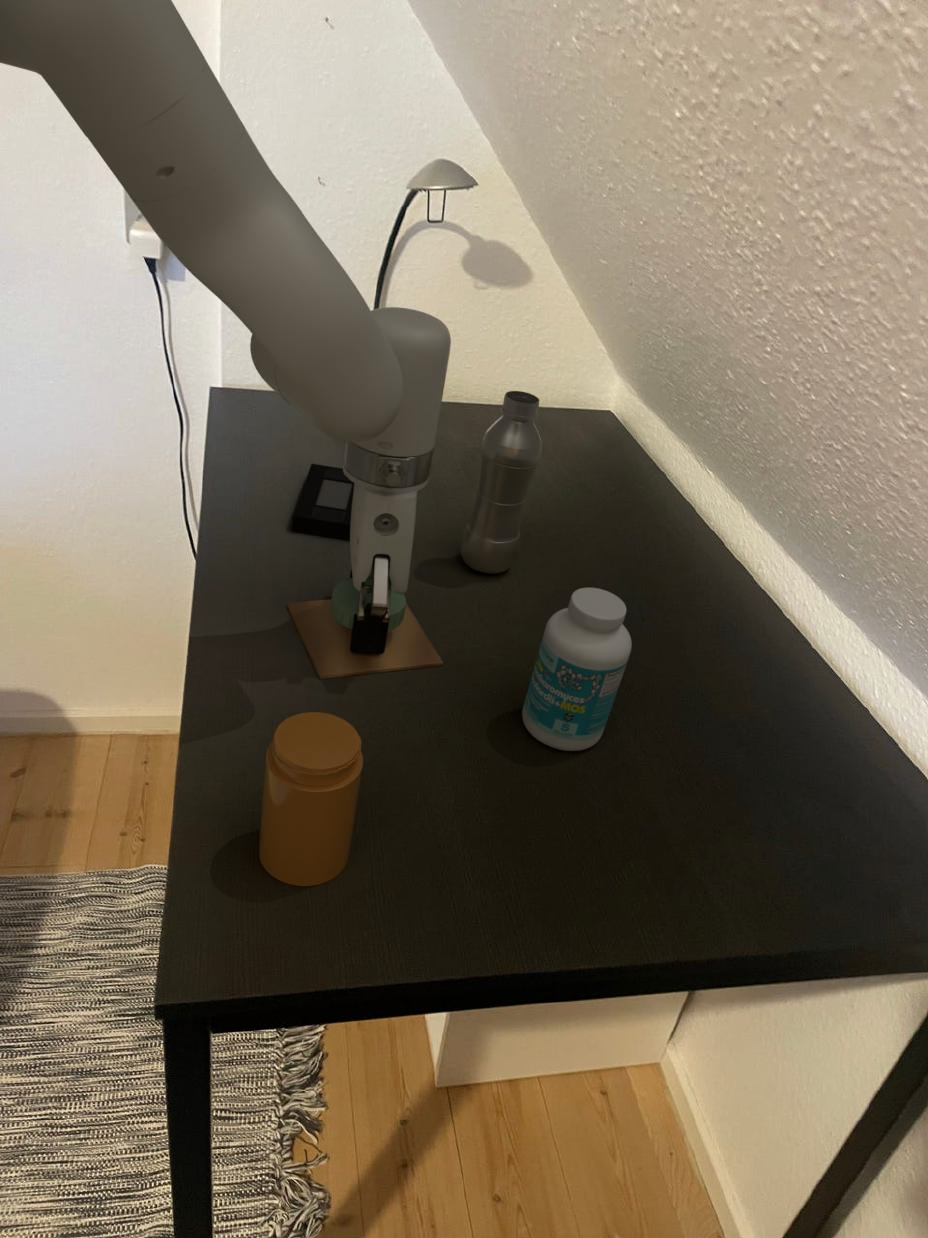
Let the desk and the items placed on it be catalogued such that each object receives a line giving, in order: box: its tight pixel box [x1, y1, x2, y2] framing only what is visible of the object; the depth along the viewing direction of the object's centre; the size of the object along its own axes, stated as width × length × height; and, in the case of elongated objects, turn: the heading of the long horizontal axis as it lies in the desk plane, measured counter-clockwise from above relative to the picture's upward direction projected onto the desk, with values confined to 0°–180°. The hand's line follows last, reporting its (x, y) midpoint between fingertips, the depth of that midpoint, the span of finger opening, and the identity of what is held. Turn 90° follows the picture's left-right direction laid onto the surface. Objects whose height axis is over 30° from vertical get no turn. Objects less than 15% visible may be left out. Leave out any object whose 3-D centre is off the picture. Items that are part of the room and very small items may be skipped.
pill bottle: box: [521, 587, 633, 752], centre depth 81 cm, size 8×7×14 cm
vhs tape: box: [290, 463, 355, 541], centre depth 111 cm, size 8×14×2 cm, turn 178°
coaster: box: [286, 598, 444, 680], centre depth 91 cm, size 12×12×1 cm
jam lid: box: [330, 577, 407, 631], centre depth 89 cm, size 7×7×2 cm
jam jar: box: [258, 711, 364, 887], centre depth 65 cm, size 6×6×11 cm
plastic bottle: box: [460, 390, 543, 574], centre depth 102 cm, size 6×7×20 cm
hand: (364, 627), depth 91 cm, fingers closed on jam lid, 6 cm apart
